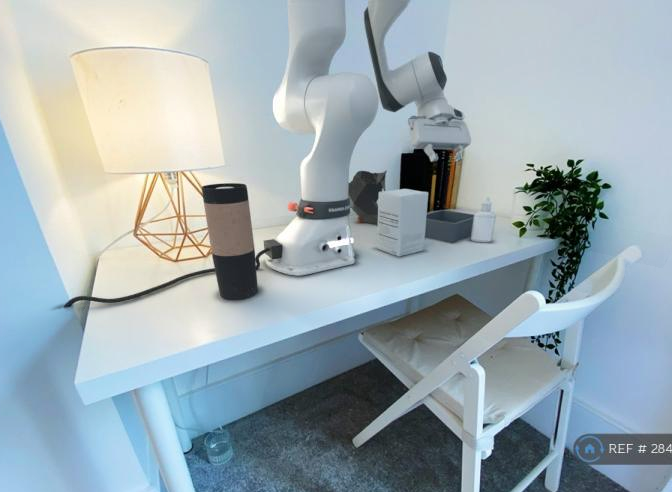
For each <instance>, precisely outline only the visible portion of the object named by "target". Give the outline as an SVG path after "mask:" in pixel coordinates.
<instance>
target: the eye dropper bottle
mask: <svg viewBox="0 0 672 492" xmlns="http://www.w3.org/2000/svg"><path fill="white" fill-rule="evenodd" d="M492 205H493V203H492V202H490V197H486V198H485V200H484V201H482V202H481V206H480V207H481V208H480V210H479V211H478V210H477V211H475V213H474V214H473V215H474V218H473V225H472V231H471V236H470V241H472V242H476V243H491V242H492V241H493V235H494V230H495V225H496V218H497V216H496V213H495V212H493V211H491V210H492Z"/></svg>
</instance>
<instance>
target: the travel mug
mask: <svg viewBox="0 0 672 492" xmlns="http://www.w3.org/2000/svg"><path fill="white" fill-rule="evenodd" d="M201 193H202V200H203V206H204V207H203V208H204V213H205V220H206V227H207V232H208V238H209V247H210V251H211V256H212V263H213V268H215V272H214V273H215V277H216V282H217V287H218V292H219V296H220V297H221V298H222V299H224V300H228V301H240V300H246V299H249V298H252V297H253V296H255V295H256V294H257V293H258V289H259V288H258V287H259V286H258V276H257V274H258V273H257V270H256V265H257V264H256V260H255V258H256V251H255V240H254V233H253V225H252V217H251V209H250V208H251V207H250V199H249V192H248V187H247V185H246V184H245V183H237V182H226V183H211V184H206V185H205V184H204V185H202V186H201Z"/></svg>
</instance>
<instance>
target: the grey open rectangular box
mask: <svg viewBox="0 0 672 492" xmlns="http://www.w3.org/2000/svg"><path fill="white" fill-rule="evenodd" d="M473 218H474V214H473V213H468V212H467V213H466V212H460V211H452V210H446V209H440V210H436V211H432V212H429V213H428V212H427V216H426V228H425V238H428V239H432V240H437V241H442V242H446V243H450V244H454V243H456V242H459V241H461V240H464V239H467V238H471V231H472V225H473Z"/></svg>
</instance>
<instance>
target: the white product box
mask: <svg viewBox="0 0 672 492" xmlns="http://www.w3.org/2000/svg"><path fill="white" fill-rule="evenodd" d="M428 202H429V192H428V191H423V190H422V191H420V190H416V189H415V190H414V189H410V188H401V189H400V188H399V189H391V190H386V191H384V190H382V192H379V198H378V200H377V205H378V225H377V231H376V237H377V238H376V249H378V250H380V251H382V252H385V253H388V254H390V255H393V256H395V257H399V258H400V257H403V256H407V255H411V254H414V253H415V254H416V253H419V252H422V251H425V240H426V237H425V228H426V216H427V214H428V205H429V204H428Z"/></svg>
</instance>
